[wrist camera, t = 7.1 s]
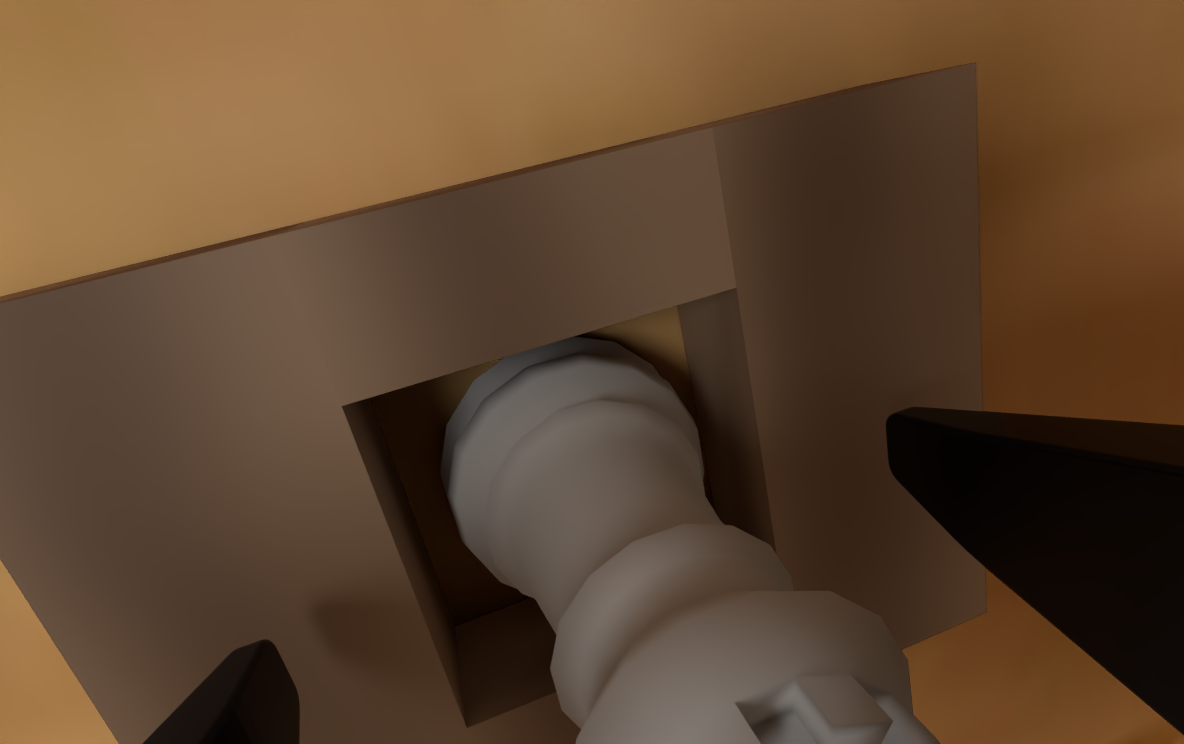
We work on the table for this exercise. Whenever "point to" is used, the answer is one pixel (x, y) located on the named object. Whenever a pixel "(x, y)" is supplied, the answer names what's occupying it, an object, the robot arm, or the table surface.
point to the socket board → (466, 339)
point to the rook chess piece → (654, 567)
